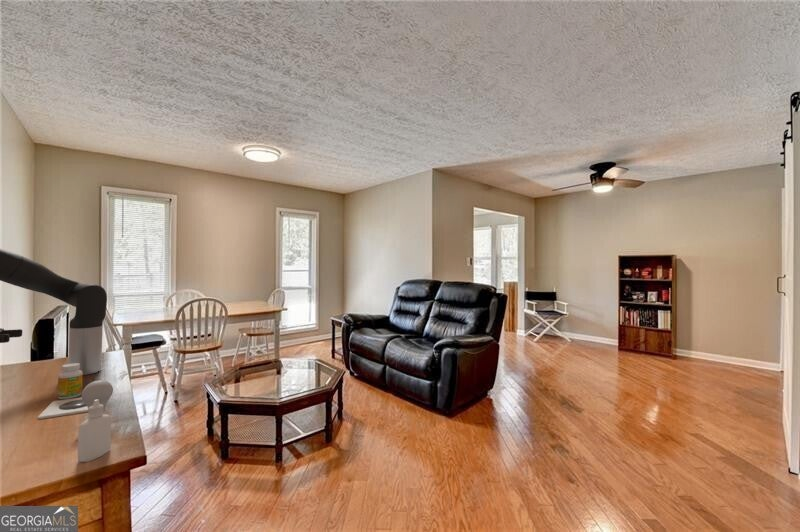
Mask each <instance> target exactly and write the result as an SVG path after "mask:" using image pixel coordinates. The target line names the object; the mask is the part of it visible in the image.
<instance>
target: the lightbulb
mask: <svg viewBox="0 0 800 532" xmlns="http://www.w3.org/2000/svg"><path fill="white" fill-rule="evenodd" d="M113 393H114V388H113V384H112V383H111V382H109V381H108V380H105V379H104V380H101V379H99V380H94V381H92V382H89V383H88V384H87V385H86V386H85V387H84V389H83V388H82V394H81V397H82V400H83V401H84V403H85V404H86V405H87V407H88V410H89V407H90V406H92V405H93V403H94V400H97V399H98V400H99V404H102V405H104V408H103V414H104V413H105V411H106V406H107V404H108V401H109V400H110V399H111V397H112V396H113Z"/></svg>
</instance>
